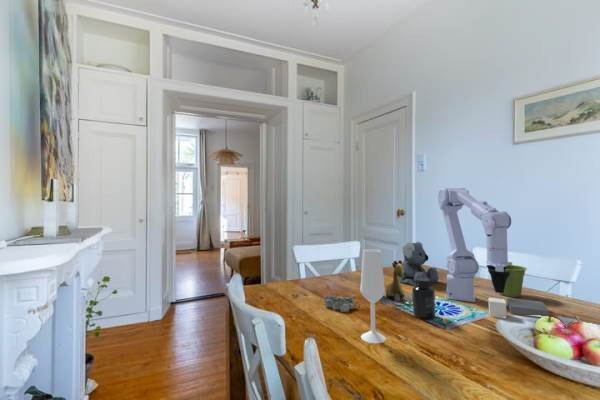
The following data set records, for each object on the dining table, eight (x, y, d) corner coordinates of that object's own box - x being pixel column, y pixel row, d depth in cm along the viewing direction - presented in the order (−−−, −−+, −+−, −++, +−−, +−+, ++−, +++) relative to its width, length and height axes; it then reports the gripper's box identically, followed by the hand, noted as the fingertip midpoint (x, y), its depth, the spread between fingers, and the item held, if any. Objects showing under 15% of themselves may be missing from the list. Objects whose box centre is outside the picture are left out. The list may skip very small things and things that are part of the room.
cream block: (489, 316, 96) (489, 301, 96) (488, 312, 99) (488, 297, 100) (506, 319, 93) (506, 303, 93) (505, 314, 97) (504, 299, 97)
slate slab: (510, 315, 98) (510, 305, 98) (507, 306, 106) (507, 297, 107) (549, 320, 93) (549, 310, 93) (542, 310, 102) (542, 301, 102)
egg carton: (357, 308, 105) (357, 297, 105) (344, 314, 100) (344, 302, 100) (334, 301, 113) (333, 291, 113) (321, 306, 107) (320, 295, 107)
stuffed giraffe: (384, 306, 106) (385, 262, 107) (371, 293, 124) (371, 255, 125) (428, 307, 107) (428, 263, 108) (408, 294, 125) (408, 256, 126)
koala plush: (424, 289, 128) (423, 244, 128) (387, 281, 141) (386, 241, 142) (440, 282, 140) (439, 241, 140) (405, 275, 153) (404, 238, 153)
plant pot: (515, 290, 124) (514, 264, 124) (535, 299, 112) (534, 270, 112) (486, 290, 125) (485, 263, 125) (502, 299, 113) (501, 269, 113)
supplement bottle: (434, 313, 99) (433, 277, 99) (436, 321, 92) (435, 282, 92) (412, 311, 101) (411, 276, 101) (413, 318, 94) (412, 281, 95)
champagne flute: (367, 330, 85) (366, 248, 86) (389, 336, 81) (388, 250, 82) (356, 338, 80) (355, 251, 81) (379, 345, 76) (378, 253, 77)
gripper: (515, 252, 89) (516, 297, 88) (508, 246, 101) (510, 285, 101) (487, 250, 92) (488, 294, 92) (484, 245, 105) (485, 283, 104)
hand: (498, 289), depth 97 cm, fingers open, 7 cm apart
